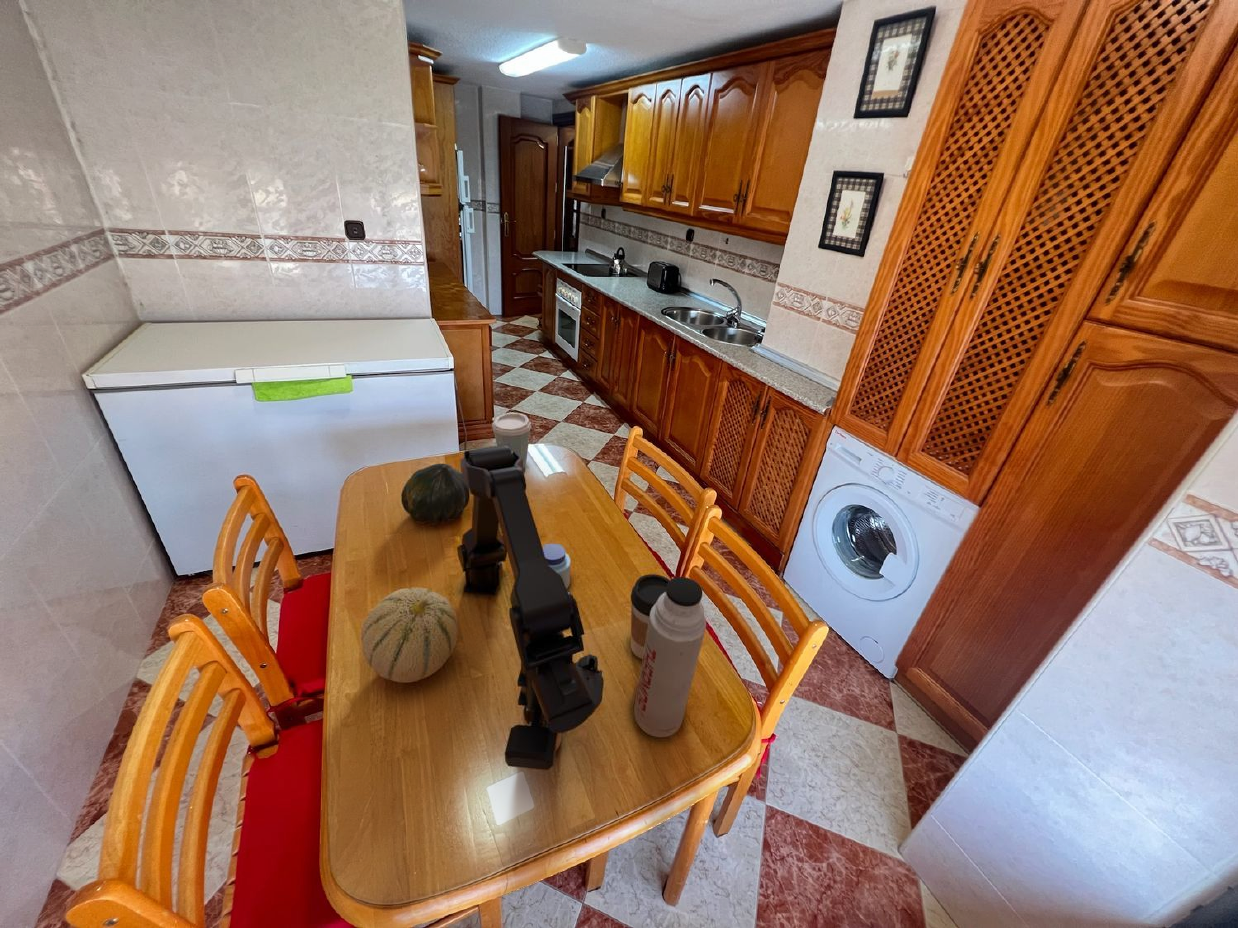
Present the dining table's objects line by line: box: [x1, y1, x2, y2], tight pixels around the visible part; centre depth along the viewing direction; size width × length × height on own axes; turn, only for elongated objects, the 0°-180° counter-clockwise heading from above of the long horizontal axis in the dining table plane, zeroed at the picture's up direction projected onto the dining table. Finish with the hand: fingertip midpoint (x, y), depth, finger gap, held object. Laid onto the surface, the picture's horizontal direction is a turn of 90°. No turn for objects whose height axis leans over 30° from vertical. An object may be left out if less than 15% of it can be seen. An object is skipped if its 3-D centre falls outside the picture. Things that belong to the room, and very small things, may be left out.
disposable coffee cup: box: [491, 411, 532, 468], centre depth 138 cm, size 11×11×15 cm
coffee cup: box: [630, 573, 671, 660], centre depth 88 cm, size 8×8×15 cm
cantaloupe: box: [360, 586, 459, 683], centre depth 81 cm, size 15×15×15 cm
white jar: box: [542, 542, 572, 590], centre depth 102 cm, size 7×7×8 cm
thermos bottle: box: [633, 576, 707, 738], centre depth 74 cm, size 8×8×28 cm
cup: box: [520, 706, 563, 751], centre depth 74 cm, size 6×6×7 cm
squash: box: [400, 463, 471, 525], centre depth 117 cm, size 14×15×15 cm
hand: (541, 730), depth 75 cm, fingers closed on cup, 6 cm apart
